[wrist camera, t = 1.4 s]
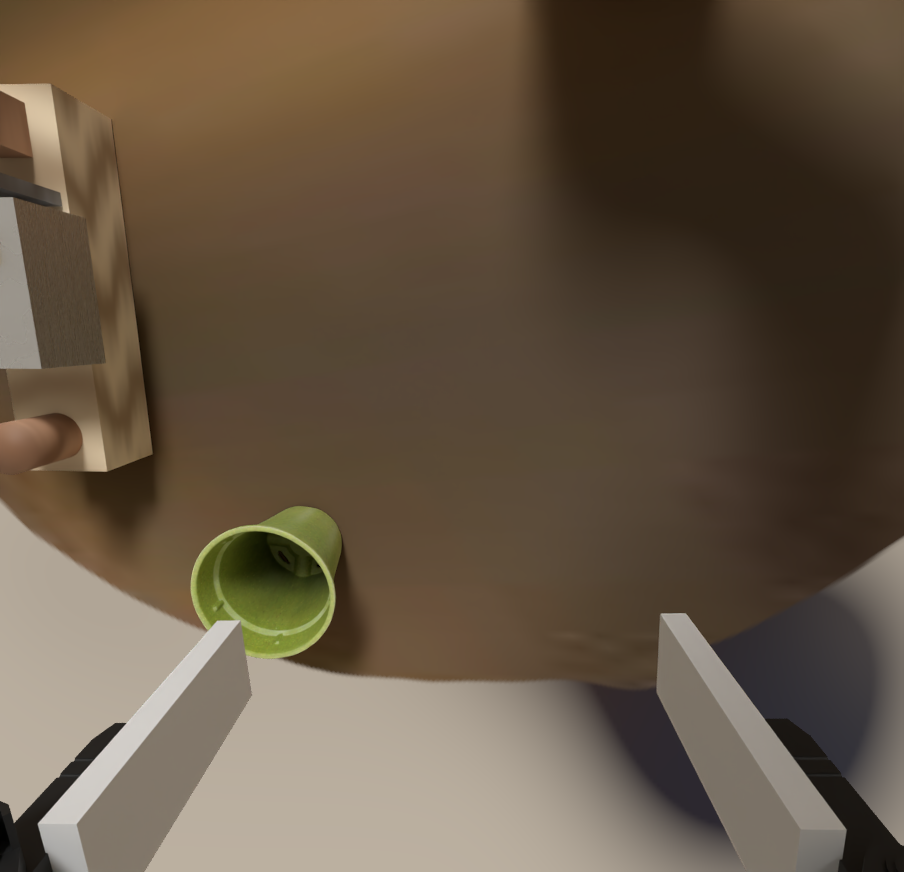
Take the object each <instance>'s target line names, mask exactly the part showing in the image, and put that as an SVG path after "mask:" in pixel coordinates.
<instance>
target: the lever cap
mask: <svg viewBox="0 0 904 872" xmlns="http://www.w3.org/2000/svg"><path fill="white" fill-rule="evenodd" d="M103 363H106V360H105V353H104V345H103V338H102V331H101V324H100V317H99V310H98V302H97V295H96V288H95V281H94V274H93V267H92V259H91V252H90V245H89V238H88V231H87V224H86V218H83V217H79V216H76V215H72V214H69V213H66V212H62V211H59V210H55V209H52V208H48V207H45V206H41V205H38V204H35V203H31V202H28V201H24V200H21V199H17V198H14V197H0V368H3V369H46V368H57V367H68V366H80V365H91V364H103Z"/></svg>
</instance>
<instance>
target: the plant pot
mask: <svg viewBox="0 0 904 872" xmlns="http://www.w3.org/2000/svg"><path fill="white" fill-rule="evenodd" d="M341 549H342V538H341V534H340V531H339V528H338V526H337V525H336V523H335V522H334V521H333V519H332V518H331V517H330V516H328V515H327V514H326V513H324V512H323V511H321V510H319V509H316V508H311V507H302V506H295V507H291V508H288V509H286V510H284V511H282V512H280V513H278V514H277V515H275V516H273V517H271V518H270V519H268V520H266V521H264V522H262V523H260V524H258V525H246V526H240V527H237V528H234V529H231V530H228V531H226V532H224V533H223V534H221V535H219V536H218V537H216V538H215V539H213V540H212V541H211V542H210V543H209V544H208V545H207V546H206V547H205V548H204V549H203V551H202V552H201V553H200V555H199V557H198V559H197V560H196V563H195V565H194V568H193V571H192V577H191V595H192V600H193V604H194V607H195V610H196V612H197V614H198V616H199V618H200V620H201V621H202V623H203V624H204V626H205V627H206V629H207V630H208V631H209V630H210V628H211V627H212V626H213V625H214V624H215V623H216V622H217V621H233V620H241V627H242V633H243V640H244V646H245V653H246V655H248V656H252V657H256V658H263V659H275V658H282V657H288V656H292V655H295V654H298V653H300V652H302V651H304V650H306V649H307V648H309V647H310V646H311V645H313V644H314V643H315V642H316V641H318V640H319V638H320V637H321V636H322V635H323V634H324V632H325V631H326V629H327V628H328V626H329V624H330V622H331V620H332V617H333V613H334V610H335V603H336V591H335V585H334V576H335V572H336V568H337V565H338V561H339V558H340V554H341ZM278 551H281V552H282V553H283V554H284V556H285V557H286V558H287V559H288V561H290V563H287V562H285V561H284V560H283V559H282V558H281V557H280V556H279V553H278ZM317 564H319V565H320V567H317Z"/></svg>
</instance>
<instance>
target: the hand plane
mask: <svg viewBox="0 0 904 872" xmlns="http://www.w3.org/2000/svg"><path fill="white" fill-rule="evenodd" d="M0 197H14V198H17V199H21V200H24V201H28V202H31V203H35V204H38V205H41V206H45V207H48V208H52V209H55V210H59V211H62V212H66V213H69V214H72V215H76V216H79V217H83V218H86V224H87V231H88V238H89V245H90V252H91V259H92V267H93V274H94V281H95V288H96V295H97V302H98V310H99V317H100V324H101V331H102V338H103V345H104V353H105V360H106V363H103V364H91V365H80V366H68V367H57V368H46V369H6V372H7V378H8V383H9V389H10V394H11V400H12V405H13V411H14V416H15V421H10V422H5V423H0V472H1V473H3V474H8V475H15V474H19V473H22V472H25V471H28V470H47V471H102V472H107V471H110V470H113V469H115V468H118V467H120V466H123V465H126V464H128V463H131V462H134V461H136V460H139V459H141V458H144V457H147V456H149V455H152V454H153V451H152V443H151V435H150V427H149V419H148V411H147V403H146V395H145V387H144V379H143V371H142V363H141V355H140V347H139V339H138V331H137V323H136V315H135V307H134V299H133V291H132V283H131V275H130V267H129V259H128V251H127V243H126V235H125V227H124V219H123V211H122V203H121V195H120V187H119V179H118V170H117V162H116V154H115V146H114V138H113V130H112V122H111V119H110V118H108V117H107V116H105V115H103V114H102V113H100V112H98V111H97V110H95V109H93V108H91V107H90V106H88V105H86V104H85V103H83V102H81V101H79V100H78V99H76V98H74V97H73V96H71V95H69V94H67V93H66V92H64V91H62V90H61V89H59V88H57V87H55V86H54V85H52V84H1V85H0Z"/></svg>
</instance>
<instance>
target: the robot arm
mask: <svg viewBox="0 0 904 872" xmlns="http://www.w3.org/2000/svg"><path fill="white" fill-rule="evenodd" d="M657 694H658V696H659V698H660V700H661V702H662V704H663V706H664V708H665V710H666V712H667V714H668V716H669V718H670V720H671V722H672V724H673V726H674V728H675V730H676V732H677V734H678V736H679V738H680V740H681V742H682V744H683V746H684V748H685V750H686V752H687V754H688V756H689V758H690V760H691V762H692V764H693V766H694V768H695V770H696V772H697V774H698V776H699V778H700V780H701V782H702V784H703V786H704V788H705V790H706V792H707V794H708V796H709V798H710V800H711V802H712V804H713V806H714V808H715V810H716V812H717V814H718V816H719V818H720V820H721V822H722V824H723V826H724V828H725V830H726V832H727V834H728V836H729V838H730V840H731V842H732V844H733V846H734V848H735V850H736V852H737V854H738V856H739V858H740V860H741V862H742V864H743V866H744V868H745V870H746V872H904V846H902V845H900V844H899V843H898V842H897V840H896V839H895V838H894V837H893V836H892V834H891V833H890V832H889V831H888V830H887V828H886V827H885V826H884V825H883V823H882V822H881V821H880V820H879V819H878V817H877V816H876V815H875V814H874V813H873V811H872V810H871V809H870V808H869V807H868V805H867V804H866V803H865V802H864V800H863V799H862V798H861V797H860V796H859V794H858V793H857V792H856V791H855V790H854V788H853V787H852V786H851V785H850V784H849V782H848V781H847V780H846V779H845V778H843V777H842V776H841V773H840V771H839V770H838V769H837V768H836V767H835V765H834V764H833V763H832V762H831V761H830V760H828V758H827V756H826V754H825V753H824V752H823V751H822V750H821V748H820V747H819V746H818V745H817V743H816V742H815V741H814V740H813V739H812V737H811V736H810V735H808V734H807V733H805V732H804V731H803V730H802V729H800V728H799V727H798V726H796V725H795V724H793V723H792V722H791V721H790V720H788V719H764V718H763V717H762V716H761V714H760V712H759V711H758V710H757V709H756V707H755V706H754V704H753V703H752V702H751V700H750V699H749V698H748V696H747V695H746V694H745V692H744V691H743V690H742V689H741V687H740V686H739V684H738V683H737V682H736V680H735V679H734V678H733V676H732V675H731V673H730V672H729V671H728V669H727V668H726V667H725V665H724V664H723V663H722V662H721V660H720V659H719V657H718V656H717V655H716V653H715V652H714V651H713V649H712V648H711V647H710V645H709V644H708V642H707V641H706V640H705V638H704V637H703V636H702V634H701V633H700V632H699V630H698V629H697V628H696V626H695V625H694V624H693V622H692V621H691V620H690V618H689V617H688V616H687V614H686V613H676V614H660V627H659V649H658V670H657ZM251 696H252V694H251V686H250V679H249V673H248V666H247V660H246V653H245V646H244V640H243V633H242V627H241V620H233V621H217V622H216V623H215V624H214V625H213V626H212V627H211V628H210V630H209V631H208V632H207V633H206V634H205V635H204V636H203V637H202V639H201V640H200V641H199V642H198V643H197V644H196V646H195V647H194V648H193V649H192V650H191V651H190V652H189V653H188V654H187V656H186V657H185V658H184V659H183V660H182V661H181V662H180V664H179V665H178V666H177V667H176V668H175V669H174V670H173V671H172V672H171V674H170V675H169V676H168V677H167V678H166V679H165V681H164V682H163V683H162V684H161V685H160V686H159V687H158V688H157V689H156V691H155V692H154V693H153V694H152V695H151V696H150V698H149V699H148V700H147V701H146V702H145V703H144V704H143V706H142V707H141V708H140V709H139V710H138V711H137V712H136V713H135V714H134V715H133V717H132V718H131V719H130V720H129V721H128V722H127V723H115V724H113V725H112V726H111V727H109V728H108V729H106V730H105V731H104V732H102V733H101V734H99V735H98V736H96V737H95V738H94V739H92V740H91V742H90V743H89V744H88V745H87V746H86V747H85V748H84V749H83V750H82V751H81V752H80V753H79V754H78V756H77V757H76V758H75V761H74V762H71V763H70V764H69V765H68V766H67V767H66V768H65V770H63V772H62V773H61V775H60V777H59V778H56V779H55V780H54V781H53V782H52V783H51V784H50V785H49V787H48V788H47V789H46V790H45V791H44V792H43V793H42V794H41V795H40V797H38V798H37V799H36V800H35V802H34V803H33V804H32V805H31V806H30V807H29V808H28V809H27V810H26V811H25V812H24V813H23V814H22V816H21V817H20V818H19V819H18V820H17V821H16V822H15V823H13V819H12V815H11V811H10V808H9V805H8V804H6V803H3V802H1V801H0V872H144V871H145V870H146V868H147V866H148V865H149V863H150V862H151V860H152V858H153V857H154V855H155V853H156V851H157V850H158V848H159V847H160V845H161V843H162V842H163V840H164V838H165V837H166V835H167V834H168V832H169V830H170V829H171V827H172V825H173V824H174V822H175V820H176V819H177V817H178V816H179V814H180V812H181V811H182V809H183V807H184V806H185V804H186V803H187V801H188V799H189V797H190V796H191V794H192V793H193V791H194V789H195V788H196V786H197V784H198V783H199V781H200V779H201V778H202V776H203V775H204V773H205V771H206V769H207V768H208V766H209V765H210V763H211V761H212V760H213V758H214V756H215V755H216V753H217V752H218V750H219V748H220V747H221V745H222V743H223V742H224V740H225V739H226V737H227V735H228V733H229V732H230V730H231V729H232V727H233V725H234V723H235V722H236V720H237V719H238V717H239V716H240V714H241V712H242V711H243V709H244V707H245V706H246V704H247V702H248V701H249V699H250V697H251Z"/></svg>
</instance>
